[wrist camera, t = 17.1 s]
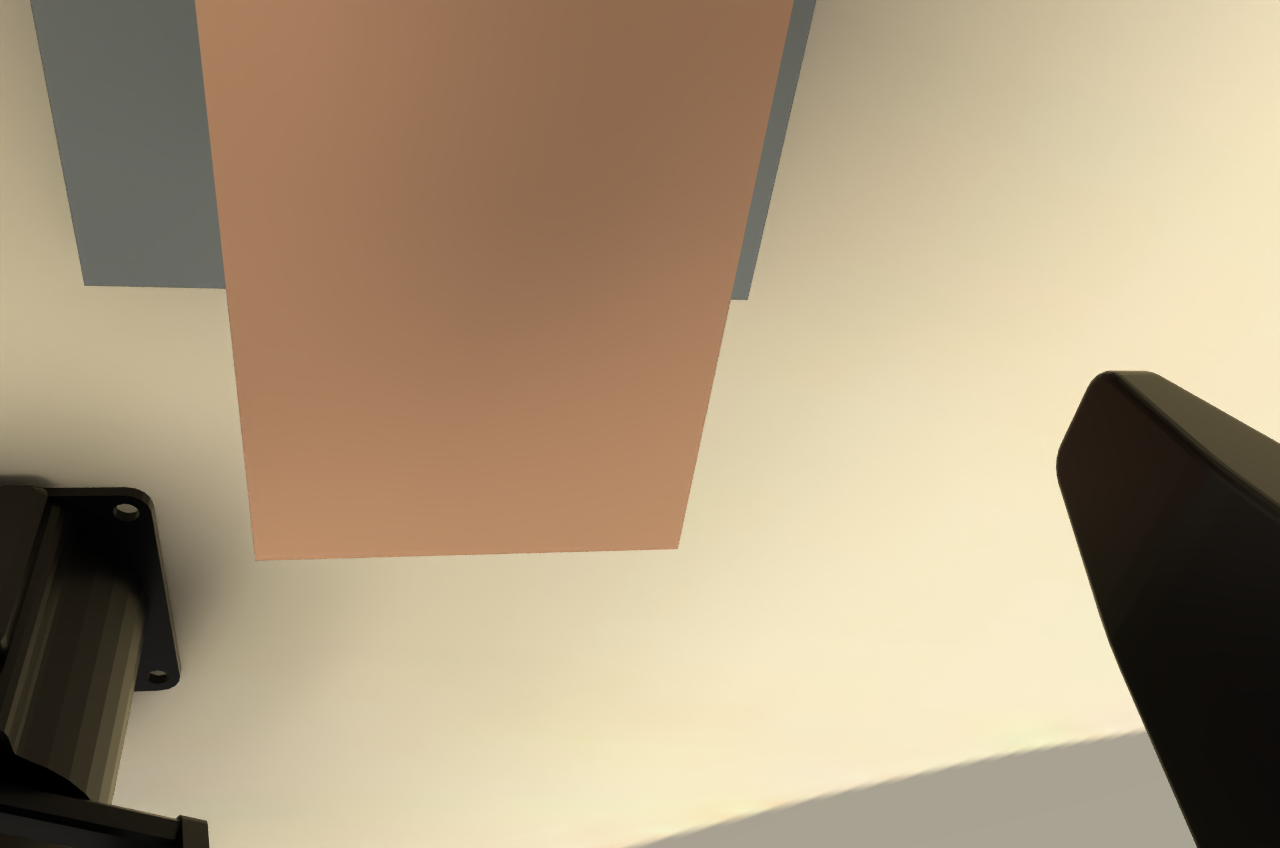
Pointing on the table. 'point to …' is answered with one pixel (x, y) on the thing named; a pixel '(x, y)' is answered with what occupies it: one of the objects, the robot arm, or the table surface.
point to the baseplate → (180, 143)
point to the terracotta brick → (480, 261)
